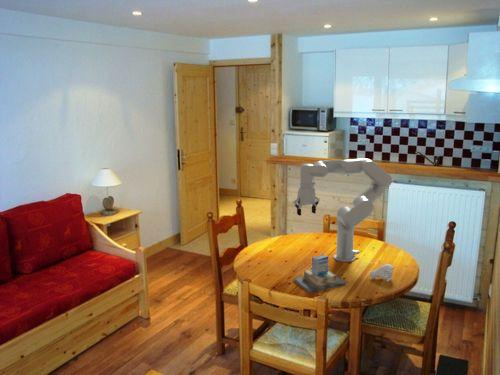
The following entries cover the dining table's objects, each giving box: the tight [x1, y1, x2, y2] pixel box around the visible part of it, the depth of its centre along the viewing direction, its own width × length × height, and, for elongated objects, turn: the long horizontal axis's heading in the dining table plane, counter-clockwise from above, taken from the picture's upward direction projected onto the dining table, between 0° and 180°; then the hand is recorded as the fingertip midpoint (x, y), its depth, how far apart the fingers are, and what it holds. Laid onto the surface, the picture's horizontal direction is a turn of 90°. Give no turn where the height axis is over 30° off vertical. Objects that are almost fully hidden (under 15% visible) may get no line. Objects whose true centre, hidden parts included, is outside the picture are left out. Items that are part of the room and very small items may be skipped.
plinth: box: [293, 269, 347, 294], centre depth 240 cm, size 22×16×6 cm
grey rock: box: [369, 263, 394, 283], centre depth 244 cm, size 6×8×12 cm
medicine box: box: [311, 254, 329, 275], centre depth 239 cm, size 8×4×9 cm, turn 125°
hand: (306, 214), depth 266 cm, fingers open, 9 cm apart
